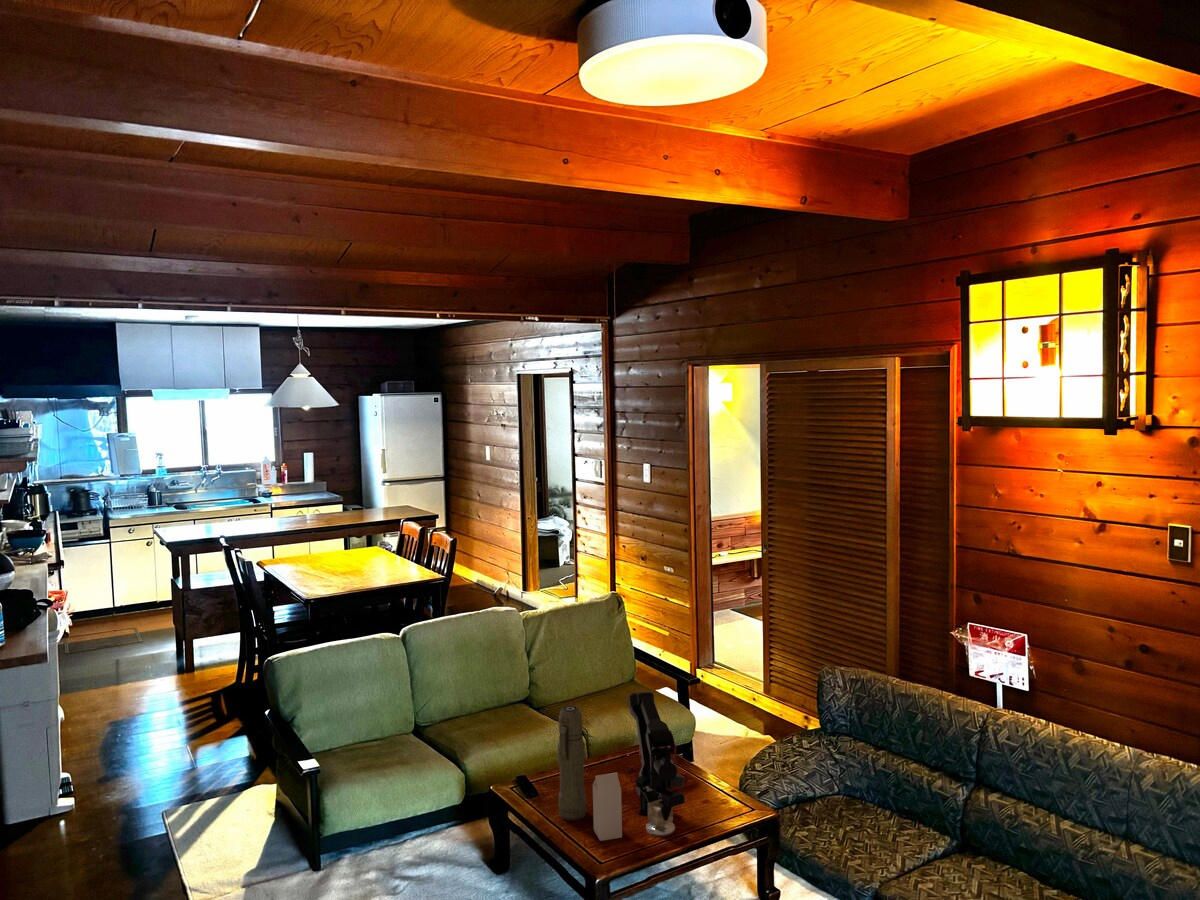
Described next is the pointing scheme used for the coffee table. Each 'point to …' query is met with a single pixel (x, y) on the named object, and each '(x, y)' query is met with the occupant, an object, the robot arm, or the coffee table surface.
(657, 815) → the beige wooden cube
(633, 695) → the robot arm
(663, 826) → the post stand
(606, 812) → the milk carton
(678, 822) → the coffee table surface
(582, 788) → the thermos
